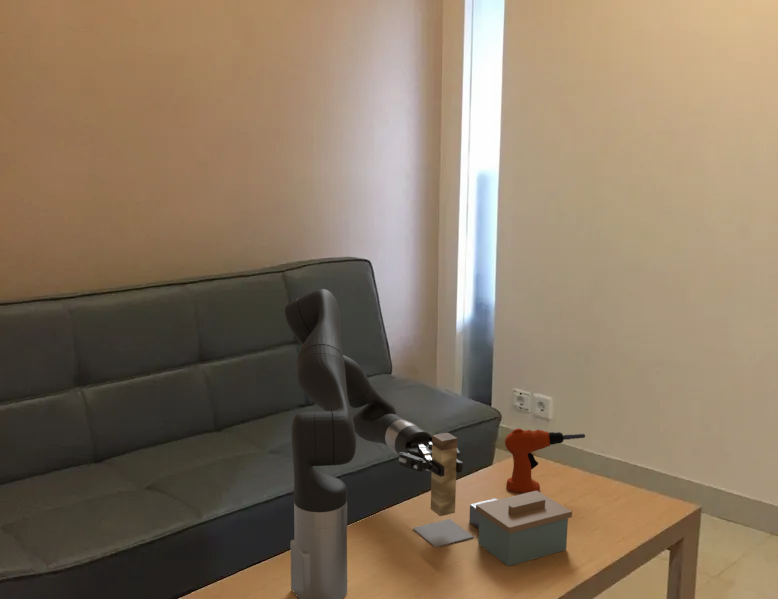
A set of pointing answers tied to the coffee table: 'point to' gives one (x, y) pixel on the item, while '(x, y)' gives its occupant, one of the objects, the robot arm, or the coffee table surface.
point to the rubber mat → (442, 533)
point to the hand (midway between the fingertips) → (451, 469)
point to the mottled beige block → (445, 485)
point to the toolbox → (523, 527)
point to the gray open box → (476, 513)
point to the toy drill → (529, 455)
